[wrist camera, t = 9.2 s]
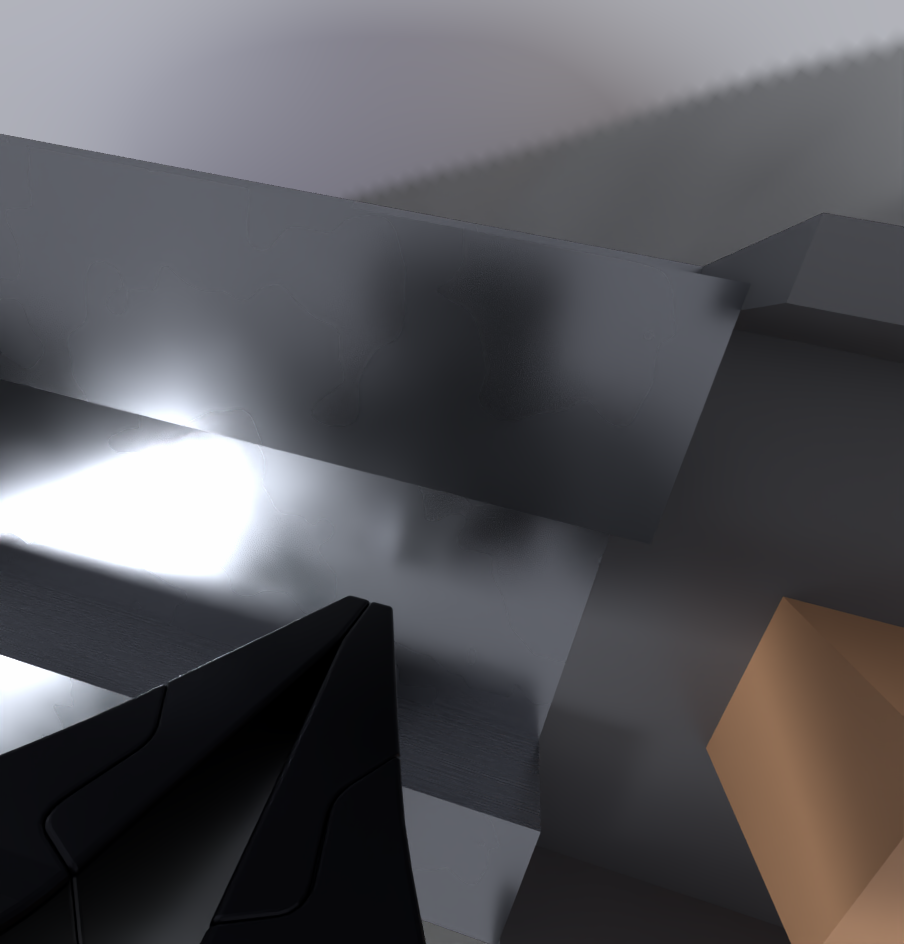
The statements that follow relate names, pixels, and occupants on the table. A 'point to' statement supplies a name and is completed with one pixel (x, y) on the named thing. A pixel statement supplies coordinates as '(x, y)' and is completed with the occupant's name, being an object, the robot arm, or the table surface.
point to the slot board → (328, 460)
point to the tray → (724, 598)
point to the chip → (822, 772)
